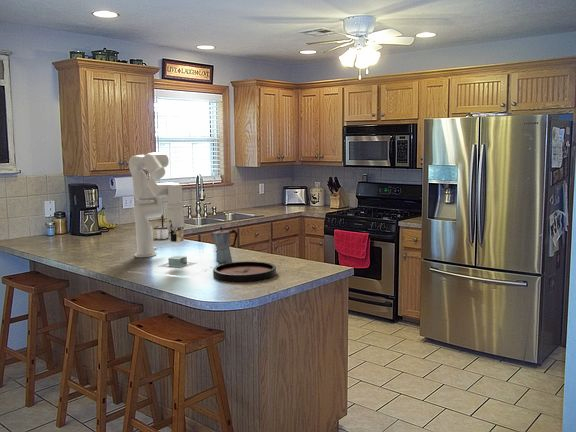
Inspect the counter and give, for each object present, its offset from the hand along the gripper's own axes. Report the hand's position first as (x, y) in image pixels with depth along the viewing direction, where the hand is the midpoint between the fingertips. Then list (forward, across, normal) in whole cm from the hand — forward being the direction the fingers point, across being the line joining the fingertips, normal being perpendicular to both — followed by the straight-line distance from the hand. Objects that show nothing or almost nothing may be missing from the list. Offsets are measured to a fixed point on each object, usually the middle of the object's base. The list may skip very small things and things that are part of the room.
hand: (176, 240), depth 301 cm
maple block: (+1, 0, 0) cm, 1 cm away
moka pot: (+15, -18, +19) cm, 30 cm away
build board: (+15, 0, 0) cm, 15 cm away
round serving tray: (+15, +5, +44) cm, 47 cm away
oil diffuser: (+15, -77, -67) cm, 103 cm away
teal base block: (+13, 0, 0) cm, 13 cm away
